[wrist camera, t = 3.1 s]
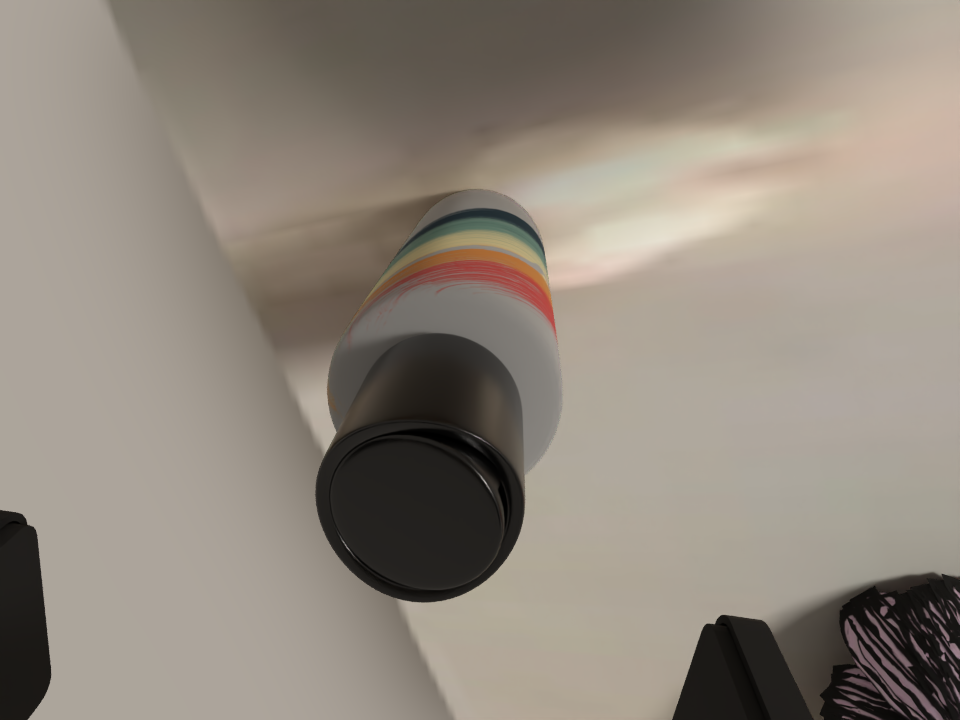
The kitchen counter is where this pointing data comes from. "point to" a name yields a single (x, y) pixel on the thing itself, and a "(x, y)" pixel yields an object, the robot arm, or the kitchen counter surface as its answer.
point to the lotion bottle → (442, 403)
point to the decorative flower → (899, 656)
